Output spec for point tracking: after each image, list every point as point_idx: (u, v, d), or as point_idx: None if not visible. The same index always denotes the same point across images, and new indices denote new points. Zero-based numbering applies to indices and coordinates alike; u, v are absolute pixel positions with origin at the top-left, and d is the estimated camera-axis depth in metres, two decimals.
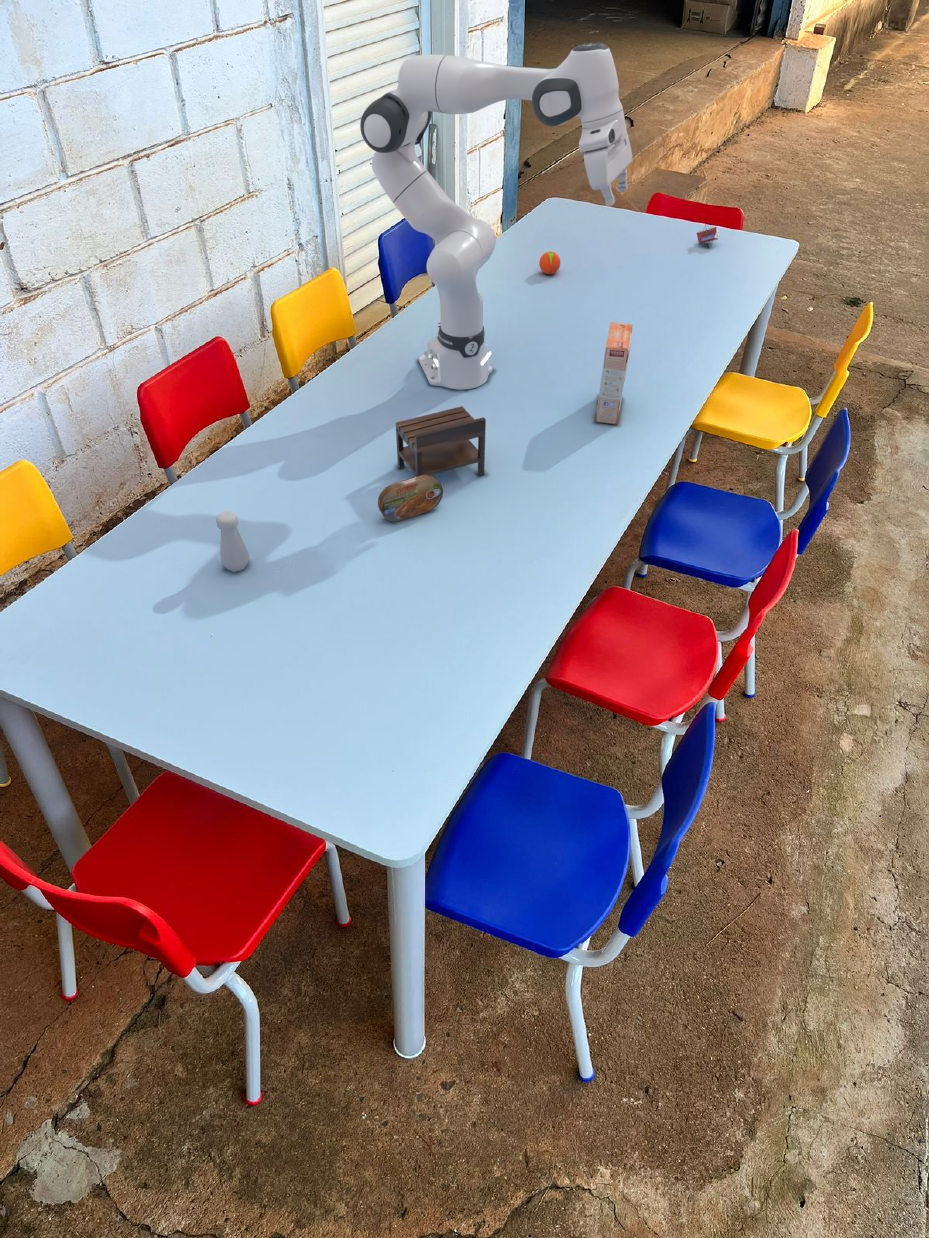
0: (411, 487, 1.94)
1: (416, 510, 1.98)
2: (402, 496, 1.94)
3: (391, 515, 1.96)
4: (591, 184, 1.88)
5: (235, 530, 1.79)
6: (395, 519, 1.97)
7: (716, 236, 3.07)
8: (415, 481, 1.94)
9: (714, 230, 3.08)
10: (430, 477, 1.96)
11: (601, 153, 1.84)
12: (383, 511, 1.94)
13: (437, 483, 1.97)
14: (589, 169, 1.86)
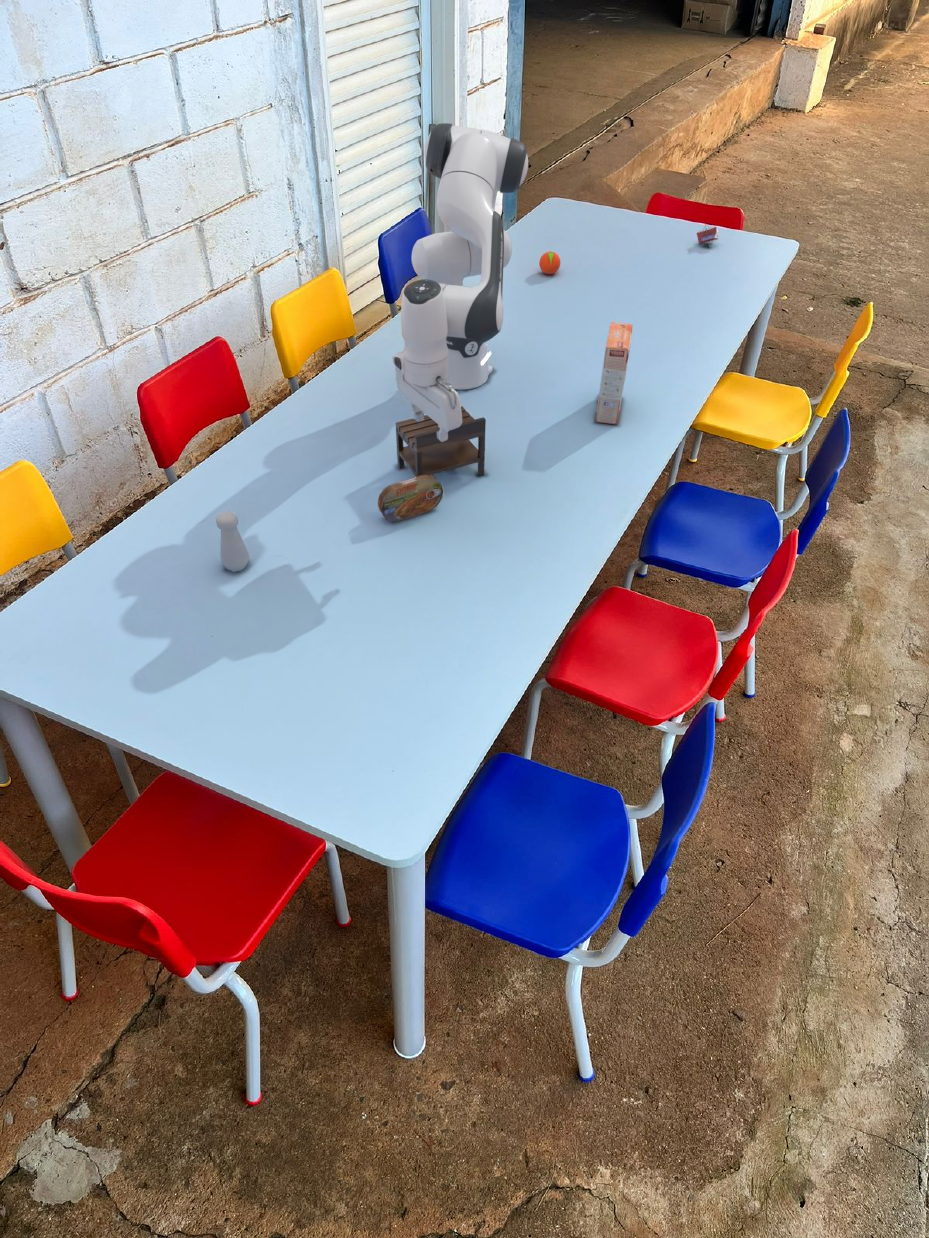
0: (411, 487, 1.94)
1: (416, 510, 1.98)
2: (402, 496, 1.94)
3: (391, 515, 1.96)
4: None
5: (235, 530, 1.79)
6: (395, 519, 1.97)
7: (716, 236, 3.07)
8: (415, 481, 1.94)
9: (714, 230, 3.08)
10: (430, 477, 1.96)
11: None
12: (383, 511, 1.94)
13: (437, 483, 1.97)
14: None
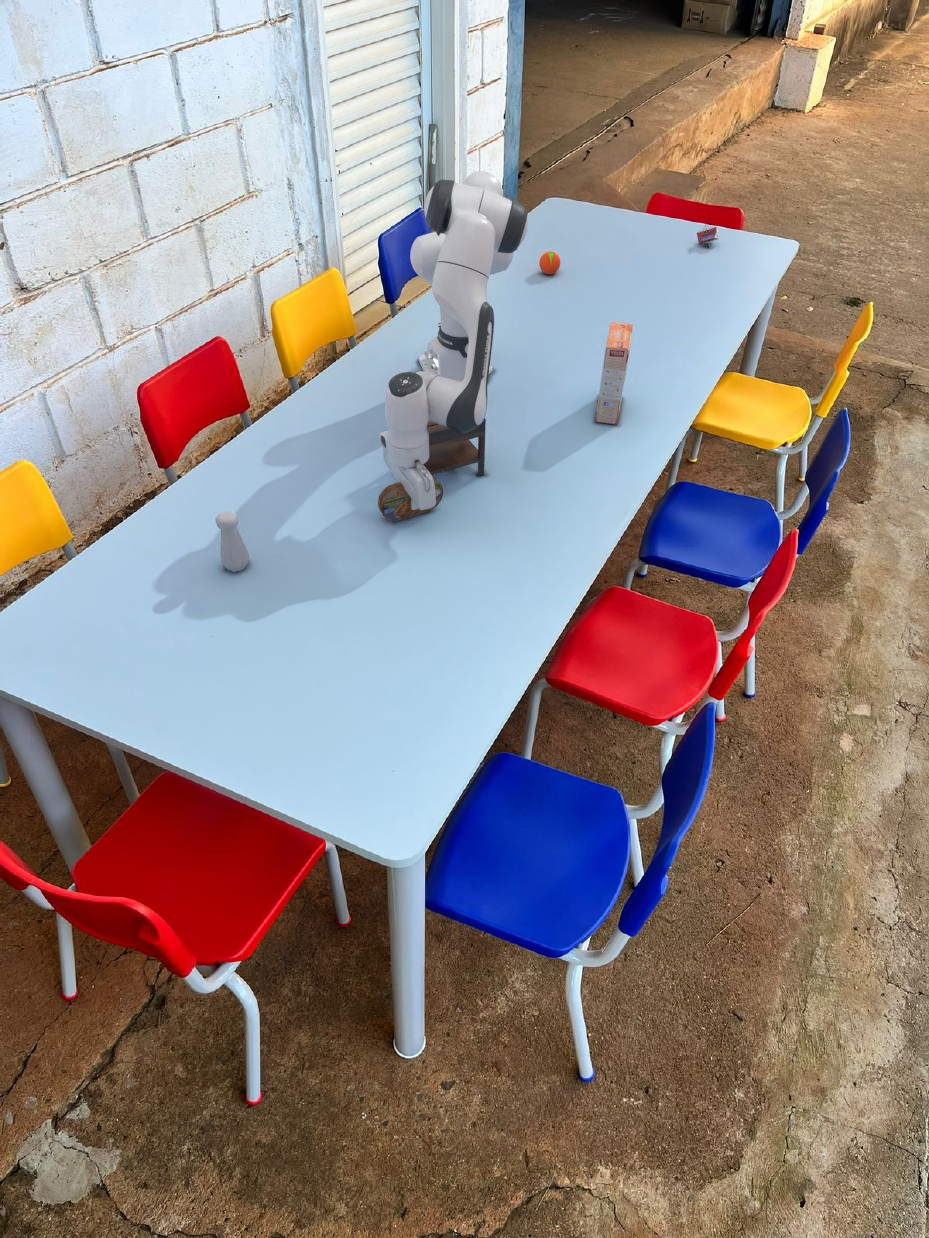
0: None
1: (416, 510, 1.98)
2: (402, 496, 1.94)
3: (391, 514, 1.96)
4: None
5: (235, 530, 1.79)
6: (395, 518, 1.97)
7: (716, 236, 3.07)
8: None
9: (714, 230, 3.08)
10: None
11: None
12: (383, 511, 1.94)
13: (437, 483, 1.97)
14: None
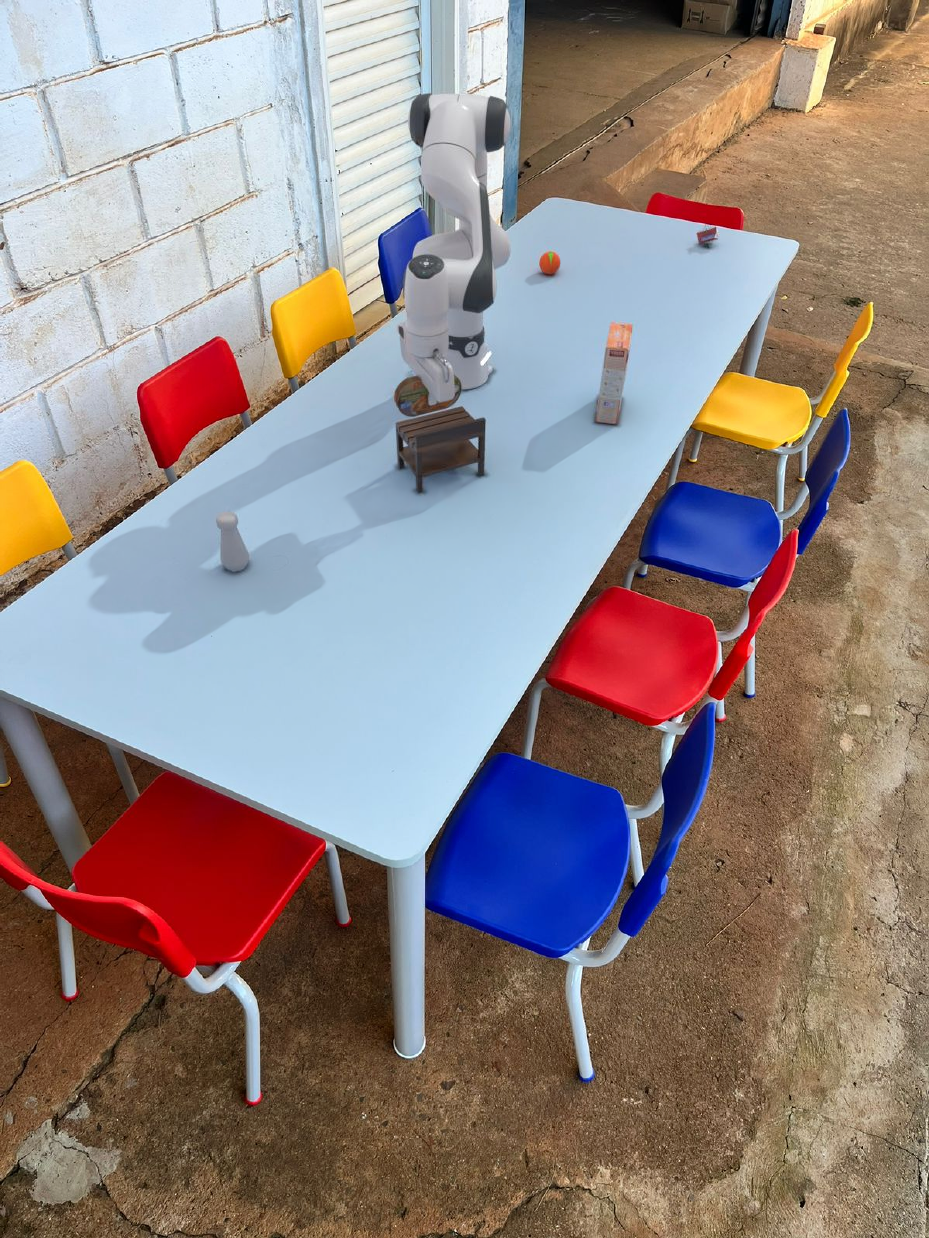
0: None
1: (433, 406, 1.93)
2: (419, 390, 1.89)
3: (407, 409, 1.91)
4: None
5: (235, 530, 1.79)
6: (411, 414, 1.92)
7: (716, 236, 3.07)
8: None
9: (714, 230, 3.08)
10: None
11: None
12: (399, 405, 1.89)
13: (456, 379, 1.91)
14: None
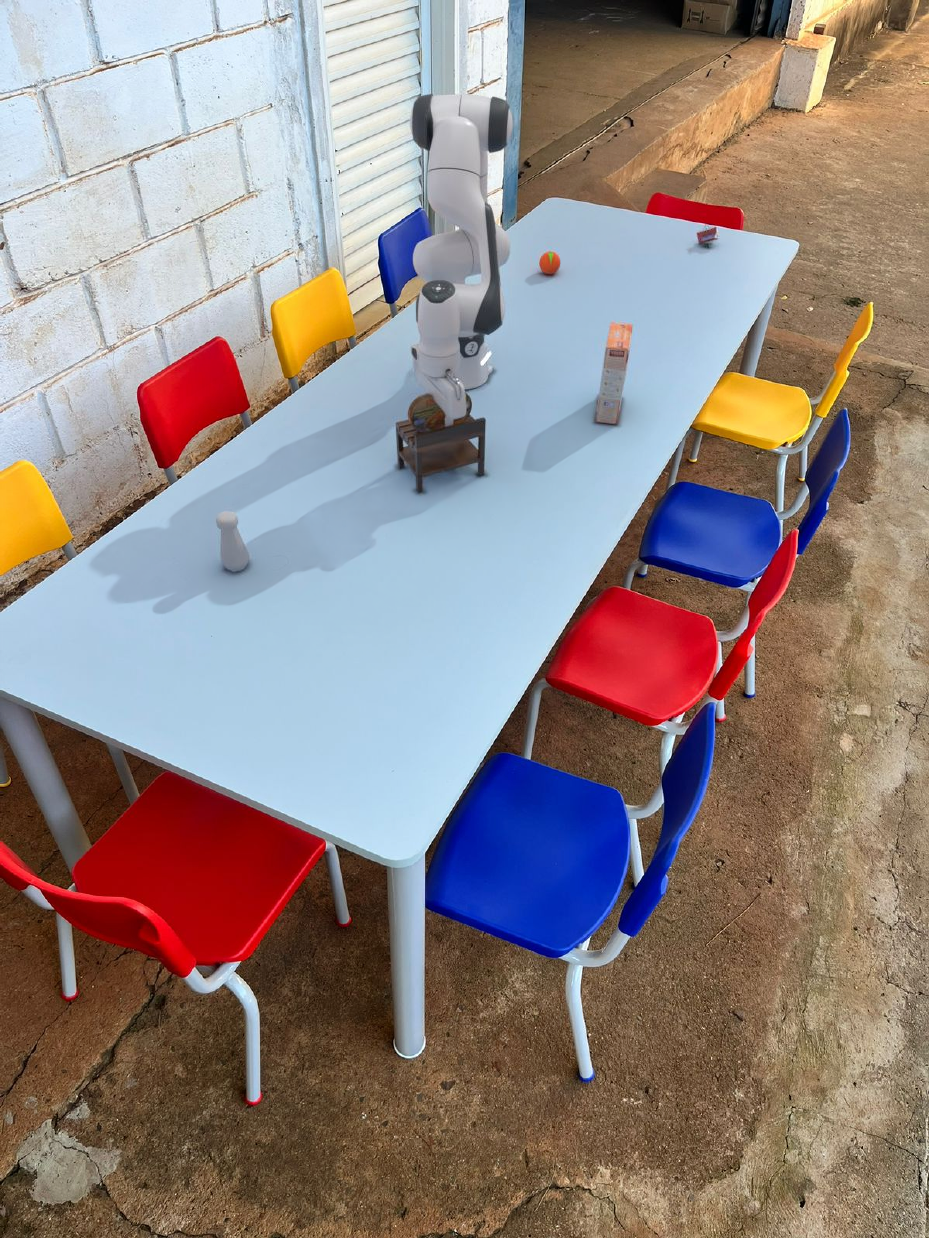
0: None
1: None
2: (431, 407, 1.98)
3: (421, 426, 2.00)
4: None
5: (235, 530, 1.79)
6: (424, 431, 2.01)
7: (716, 236, 3.07)
8: None
9: (714, 230, 3.08)
10: None
11: None
12: (413, 422, 1.98)
13: (466, 396, 2.00)
14: None
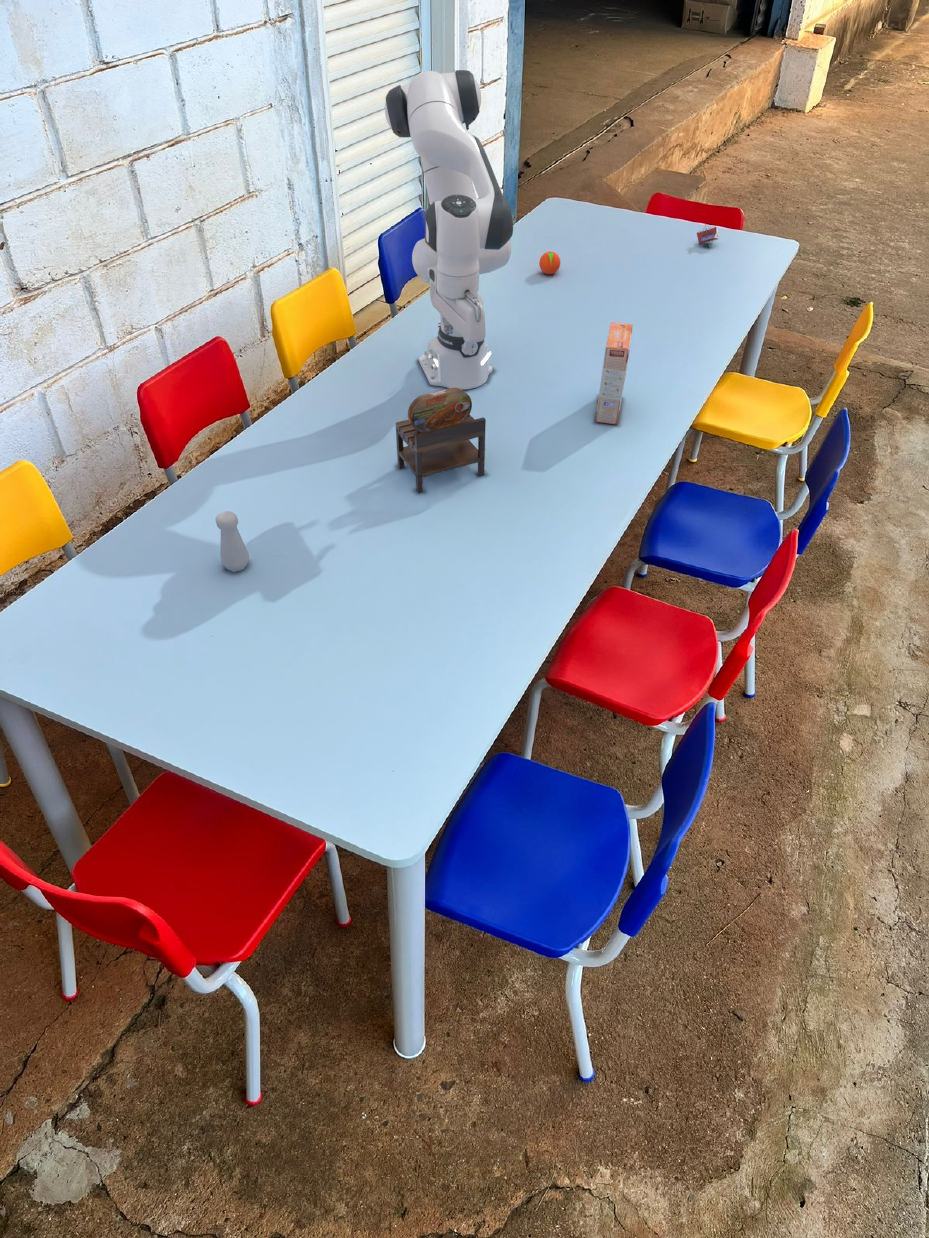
0: (441, 399, 1.98)
1: (445, 423, 2.02)
2: (431, 407, 1.98)
3: (421, 426, 2.00)
4: None
5: (235, 530, 1.79)
6: (424, 431, 2.01)
7: (716, 236, 3.07)
8: (445, 393, 1.98)
9: (714, 230, 3.08)
10: (459, 390, 2.00)
11: None
12: (413, 422, 1.98)
13: (466, 396, 2.00)
14: None
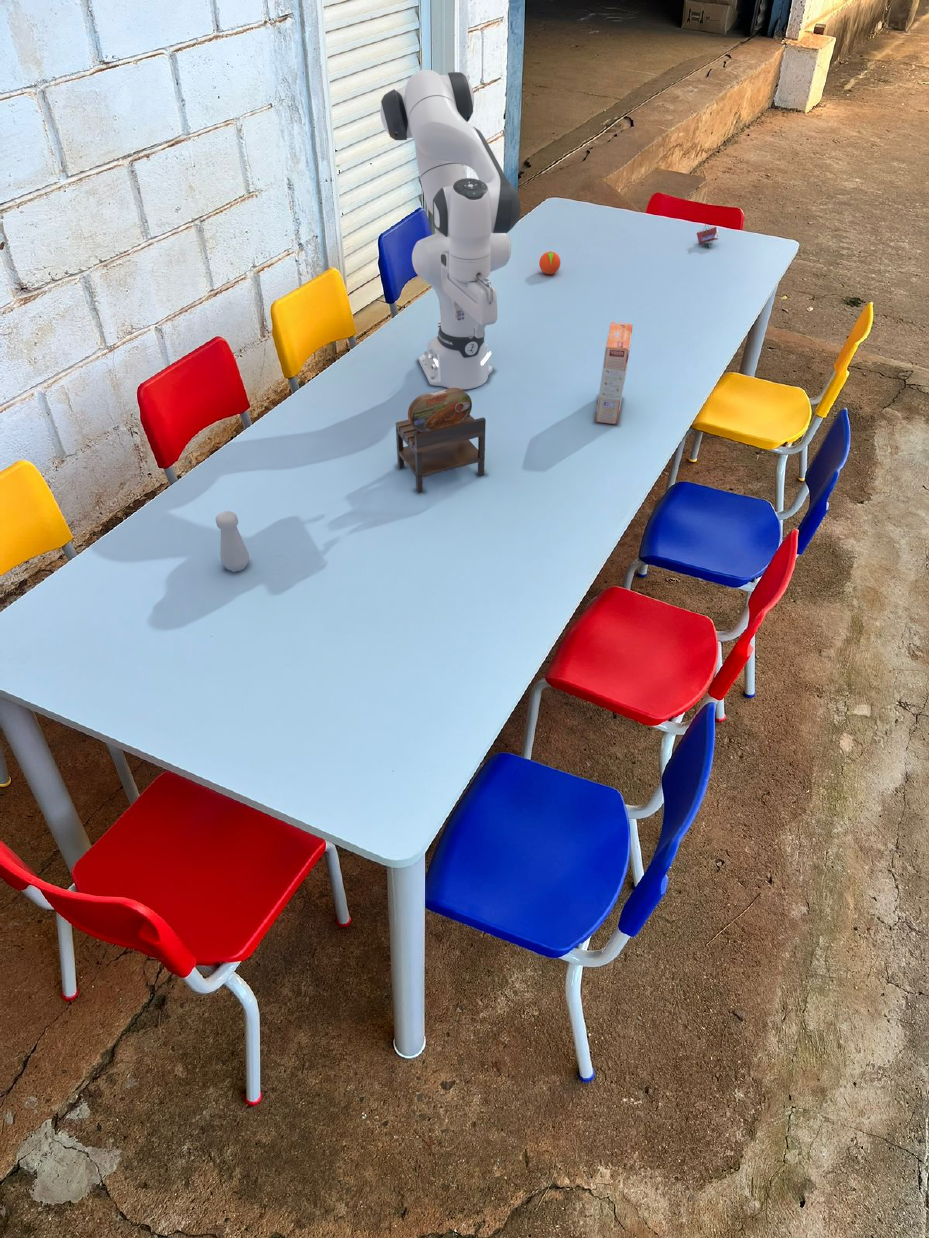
0: (441, 399, 1.98)
1: (445, 423, 2.02)
2: (431, 407, 1.98)
3: (421, 426, 2.00)
4: None
5: (235, 530, 1.79)
6: (424, 431, 2.01)
7: (716, 236, 3.07)
8: (445, 393, 1.98)
9: (714, 230, 3.08)
10: (459, 390, 2.00)
11: None
12: (413, 422, 1.98)
13: (466, 396, 2.00)
14: None
